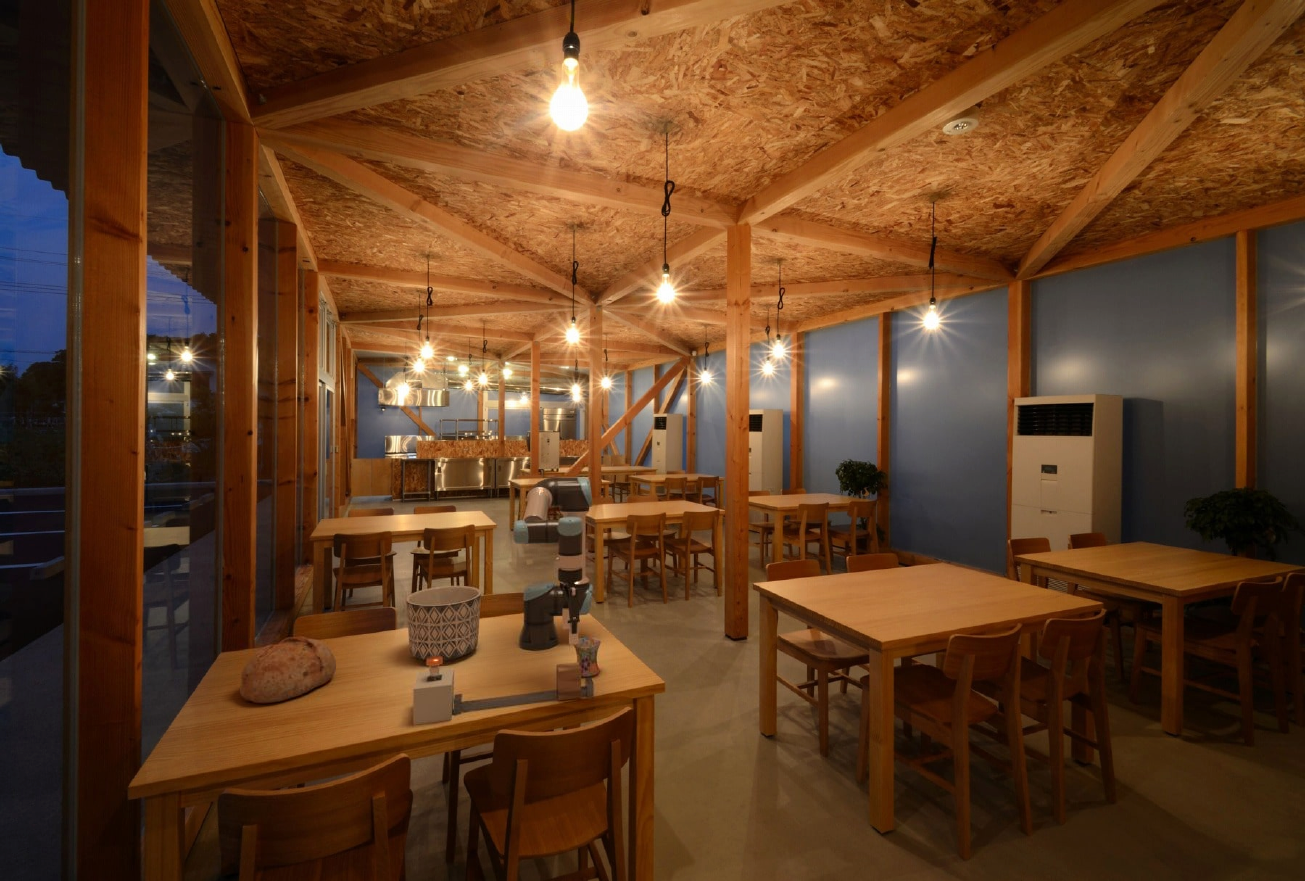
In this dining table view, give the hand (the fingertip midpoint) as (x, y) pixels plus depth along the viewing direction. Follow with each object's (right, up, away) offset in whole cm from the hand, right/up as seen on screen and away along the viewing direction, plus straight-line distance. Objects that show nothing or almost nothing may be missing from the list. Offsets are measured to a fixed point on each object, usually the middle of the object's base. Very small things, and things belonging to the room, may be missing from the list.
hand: (570, 636), depth 172 cm
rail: (-13, -19, -4) cm, 23 cm away
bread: (-91, -19, +6) cm, 94 cm away
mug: (+3, -19, +18) cm, 27 cm away
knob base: (-38, -19, -10) cm, 44 cm away
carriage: (0, -19, 0) cm, 19 cm away
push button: (-38, -9, -10) cm, 41 cm away
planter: (-52, -19, +34) cm, 65 cm away
